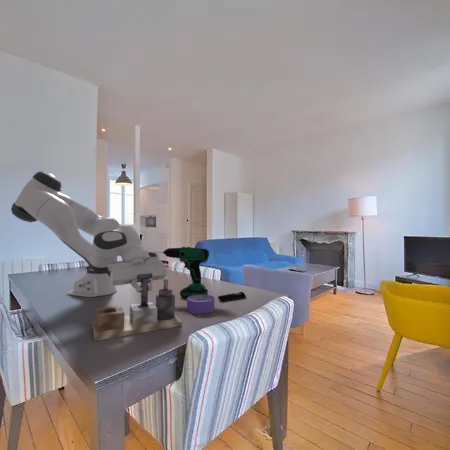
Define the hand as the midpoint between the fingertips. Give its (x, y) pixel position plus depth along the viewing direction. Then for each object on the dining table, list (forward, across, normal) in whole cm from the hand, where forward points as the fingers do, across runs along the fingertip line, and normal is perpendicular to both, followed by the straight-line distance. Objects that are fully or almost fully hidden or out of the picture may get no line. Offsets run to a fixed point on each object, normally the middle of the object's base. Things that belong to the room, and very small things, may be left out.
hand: (145, 290), depth 94 cm
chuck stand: (+8, -2, +9) cm, 12 cm away
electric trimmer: (+5, +47, +13) cm, 49 cm away
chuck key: (+4, 0, +5) cm, 7 cm away
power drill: (-9, +29, +27) cm, 40 cm away
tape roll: (+7, +26, +11) cm, 29 cm away
